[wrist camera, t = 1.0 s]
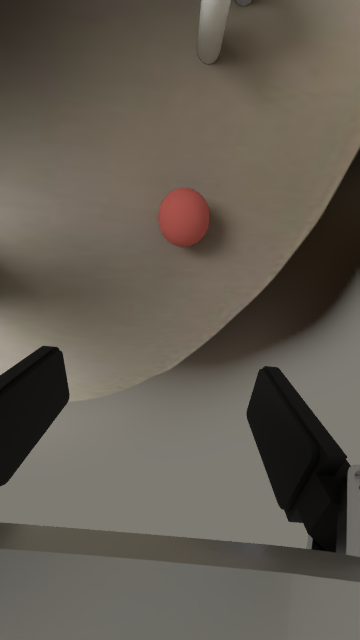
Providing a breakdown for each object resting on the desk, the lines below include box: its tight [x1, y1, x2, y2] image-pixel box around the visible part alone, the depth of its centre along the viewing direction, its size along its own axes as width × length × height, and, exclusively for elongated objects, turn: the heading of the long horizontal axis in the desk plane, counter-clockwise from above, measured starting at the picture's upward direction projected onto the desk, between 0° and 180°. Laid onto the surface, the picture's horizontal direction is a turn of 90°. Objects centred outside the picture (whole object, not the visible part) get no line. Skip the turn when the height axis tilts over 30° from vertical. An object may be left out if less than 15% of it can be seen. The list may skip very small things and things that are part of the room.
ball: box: [158, 188, 210, 247], centre depth 22 cm, size 6×6×6 cm
